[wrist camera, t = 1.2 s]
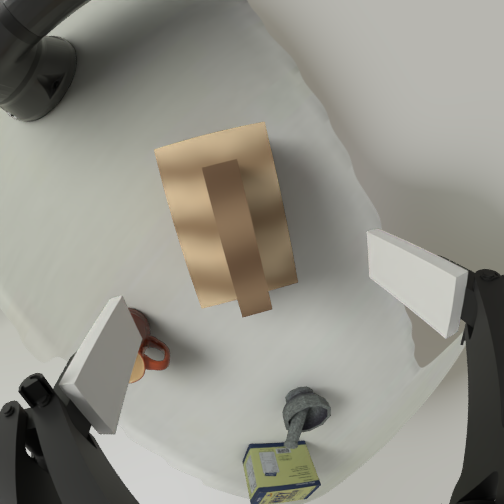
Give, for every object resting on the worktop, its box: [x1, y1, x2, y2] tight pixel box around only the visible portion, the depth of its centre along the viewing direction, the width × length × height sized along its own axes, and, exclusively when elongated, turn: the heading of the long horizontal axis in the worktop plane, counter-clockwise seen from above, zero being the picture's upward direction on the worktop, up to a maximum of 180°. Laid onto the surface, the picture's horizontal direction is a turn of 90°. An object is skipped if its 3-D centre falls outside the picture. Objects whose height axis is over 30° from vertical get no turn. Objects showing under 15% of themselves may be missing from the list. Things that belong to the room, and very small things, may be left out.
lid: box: [154, 122, 298, 317], centre depth 26 cm, size 19×12×12 cm, turn 13°
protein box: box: [243, 441, 321, 504], centre depth 51 cm, size 10×16×16 cm
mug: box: [128, 308, 170, 383], centre depth 37 cm, size 12×9×10 cm
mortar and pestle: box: [283, 387, 331, 449], centre depth 47 cm, size 11×9×12 cm
